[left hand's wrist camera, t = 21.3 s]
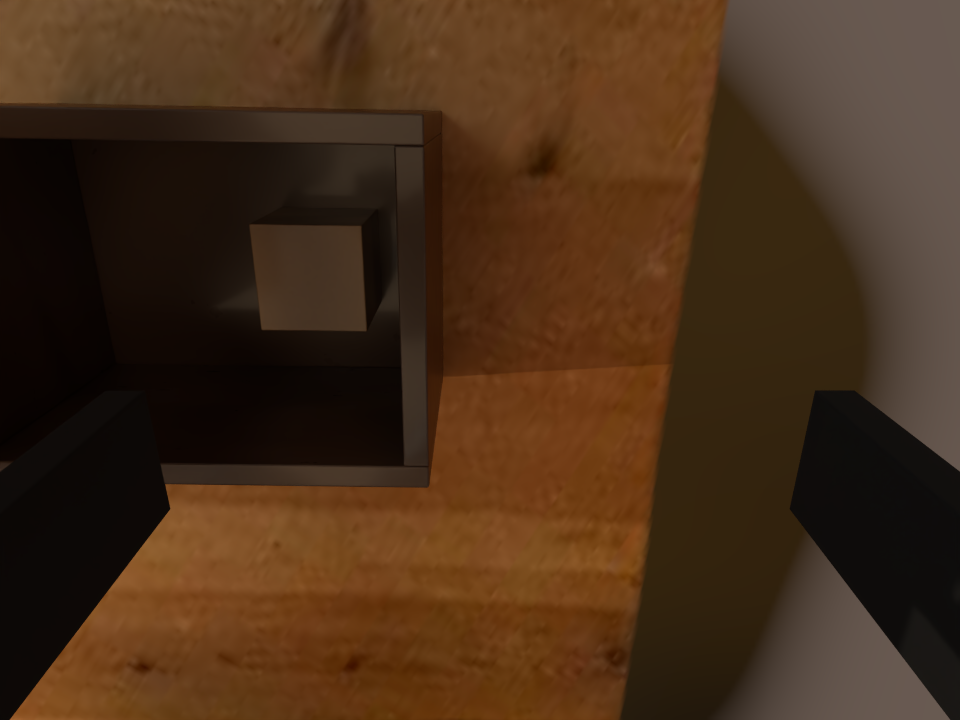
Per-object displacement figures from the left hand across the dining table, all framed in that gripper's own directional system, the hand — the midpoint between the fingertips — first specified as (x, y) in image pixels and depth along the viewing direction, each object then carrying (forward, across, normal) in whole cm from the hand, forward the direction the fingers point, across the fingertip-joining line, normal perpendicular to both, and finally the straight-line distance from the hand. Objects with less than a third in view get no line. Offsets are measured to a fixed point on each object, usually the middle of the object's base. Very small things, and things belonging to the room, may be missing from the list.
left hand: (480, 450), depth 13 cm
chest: (+18, +10, 0) cm, 21 cm away
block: (+18, +7, 0) cm, 19 cm away
